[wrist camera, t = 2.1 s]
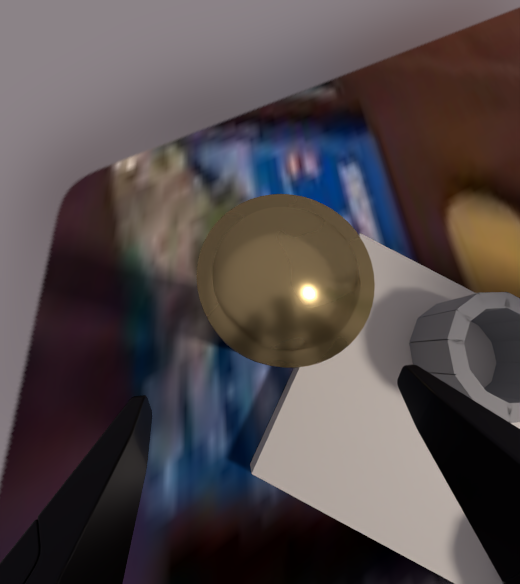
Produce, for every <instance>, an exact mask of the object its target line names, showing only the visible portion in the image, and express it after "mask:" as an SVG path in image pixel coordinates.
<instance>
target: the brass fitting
mask: <svg viewBox="0 0 520 584" xmlns="http://www.w3.org/2000/svg"><path fill="white" fill-rule="evenodd" d="M197 288H198V293H199V298H200V301H201V304H202V307H203V310H204V312H205V314H206V316H207V318H208V320H209V322H210V323H211V325H212V327H213V328H214V330H215V331H216V332H217V334H218V335H219V337H220V338H221V339H222V340H223V341H224V342H225V343H226V344H227V345H228V346H229V347H231V348H232V349H233V350H234V351H236V352H237V353H239V354H241V355H242V356H244V357H246V358H248V359H250V360H253V361H255V362H259V363H262V364H266V365H270V366H277V367H285V368H297V367H305V366H310V365H314V364H317V363H321V362H323V361H325V360H328V359H330V358H332V357H333V356H335V355H337V354H338V353H340V352H341V351H343V350H344V349H345V348H346V347H347V346H349V345H350V344H351V343H352V342H353V340H354V339H355V338H356V337H357V336H358V335H359V333H360V332H361V330H362V329H363V327H364V325H365V323H366V321H367V319H368V317H369V314H370V311H371V308H372V305H373V299H374V290H375V281H374V271H373V267H372V262H371V259H370V256H369V254H368V251H367V249H366V247H365V245H364V243H363V241H362V240H361V238H360V237H359V235H358V233H357V232H356V231H355V230H354V228H353V227H352V226H351V225H350V224H349V223H348V222H347V221H346V220H345V219H344V218H343V217H342V216H340V215H339V214H338V213H336V212H335V211H334V210H332V209H331V208H329V207H327V206H325V205H324V204H321V203H319V202H317V201H315V200H312V199H309V198H305V197H301V196H296V195H288V194H273V195H266V196H260V197H257V198H254V199H250V200H248V201H246V202H244V203H241V204H239V205H238V206H236V207H234V208H233V209H231V210H230V211H229V212H227V213H226V214H225V215H224V216H223V217H222V218H221V219H220V220H219V221H218V222H217V223H216V224H215V225H214V227H213V228H212V229H211V231H210V232H209V234H208V236H207V238H206V239H205V241H204V243H203V246H202V249H201V251H200V255H199V260H198V264H197Z"/></svg>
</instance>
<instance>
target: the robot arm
mask: <svg viewBox="0 0 520 584" xmlns="http://www.w3.org/2000/svg"><path fill="white" fill-rule="evenodd" d="M397 385H398V388H399V390H400V393H401V395H402V397H403V399H404V402H405V404H406V406H407V408H408V411H409V413H410V415H411V417H412V420H413V422H414V424H415V426H416V428H417V430H418V432H419V434H420V435H421V437H422V439H423V441H424V443H425V444H426V446H427V448H428V450H429V452H430V453H431V455H432V457H433V459H434V460H435V462H436V464H437V466H438V468H439V469H440V471H441V473H442V475H443V477H444V478H445V480H446V482H447V484H448V486H449V487H450V489H451V491H452V493H453V494H454V496H455V498H456V500H457V502H458V503H459V505H460V507H461V509H462V511H463V512H464V514H465V516H466V518H467V519H468V521H469V523H470V525H471V527H472V528H473V530H474V532H475V534H476V536H477V537H478V539H479V541H480V543H481V544H482V546H483V548H484V550H485V552H486V553H487V555H488V557H489V559H490V561H491V562H492V564H493V566H494V568H495V570H496V571H497V573H498V575H499V577H500V578H501V580H502V581H503V584H520V429H519V428H517V427H516V426H514V425H513V424H511V423H509V422H508V421H506V420H505V419H503V418H501V417H500V416H498V415H497V414H495V413H493V412H492V411H490V410H488V409H487V408H485V407H484V406H482V405H480V404H479V403H477V402H476V401H474V400H472V399H471V398H469V397H467V396H466V395H464V394H463V393H461V392H459V391H458V390H456V389H455V388H453V387H451V386H450V385H448V384H447V383H445V382H443V381H442V380H440V379H438V378H437V377H435V376H434V375H432V374H430V373H429V372H427V371H426V370H424V369H422V368H421V367H419V366H417V365H415V364H411V365H404V366H403V367H402V369H401V372H400V374H399V377H398V379H397ZM151 423H152V410H151V407H150V404H149V401H148V399H147V397H146V396H145V395H143V396H135V397H132V398H131V399H130V400H129V402H128V403H127V404H126V406H125V407H124V408H123V409H122V411H121V412H120V413H119V414H118V416H117V417H116V418H115V419H114V421H113V422H112V423H111V425H110V426H109V427H108V428H107V430H106V431H105V432H104V433H103V435H102V436H101V437H100V438H99V440H98V441H97V442H96V444H95V445H94V446H93V447H92V449H91V450H90V451H89V452H88V454H87V455H86V456H85V457H84V459H83V460H82V461H81V463H80V464H79V465H78V466H77V468H76V469H75V470H74V471H73V473H72V474H71V475H70V476H69V478H68V479H67V480H66V482H65V483H64V484H63V485H62V487H61V488H60V489H59V490H58V492H57V493H56V494H55V495H54V497H53V498H52V499H51V501H50V502H49V503H48V504H47V506H46V507H45V508H44V509H43V511H42V512H41V513H40V514H39V516H38V520H35V521H34V522H33V523H32V524H31V526H30V527H29V528H28V529H27V531H26V532H25V533H24V535H23V536H22V537H21V538H20V540H19V541H18V542H17V543H16V544H15V546H14V547H13V548H12V549H11V551H10V552H9V553H8V554H7V555H6V557H5V558H4V559H3V560H2V562H1V563H0V584H122V583H123V578H124V573H125V568H126V564H127V559H128V554H129V550H130V545H131V540H132V535H133V531H134V526H135V521H136V516H137V512H138V507H139V502H140V498H141V493H142V488H143V483H144V479H145V474H146V468H147V461H148V452H149V442H150V432H151Z"/></svg>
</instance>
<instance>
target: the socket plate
mask: <svg viewBox="0 0 520 584" xmlns="http://www.w3.org/2000/svg"><path fill="white" fill-rule="evenodd" d="M359 237H360V238H361V240H362V241H363V243H364V245H365V247H366V249H367V251H368V254H369V256H370V259H371V262H372V267H373V271H374V281H375V290H374V299H373V305H372V308H371V311H370V314H369V317H368V319H367V321H366V323H365V325H364V327H363V329H362V330H361V332H360V333H359V335H358V336H357V337H356V338H355V339H354V340H353V342H352V343H351V344H350V345H349V346H347V347H346V348H345V349H344V350H343V351H341V352H340V353H338V354H337V355H335V356H333V357H332V358H330V359H328V360H325V361H323V362H321V363H317V364H314V365H310V366H305V367H297V368H294V369H293V371H292V373H291V376H290V378H289V380H288V382H287V384H286V387H285V389H284V391H283V393H282V395H281V397H280V400H279V402H278V404H277V406H276V408H275V411H274V413H273V415H272V417H271V419H270V422H269V424H268V426H267V428H266V430H265V432H264V435H263V437H262V439H261V441H260V443H259V446H258V448H257V450H256V452H255V454H254V457H253V459H252V461H251V463H250V467H251V473H252V474H253V475H255V476H257V477H258V478H260V479H262V480H264V481H266V482H268V483H270V484H271V485H273V486H275V487H277V488H279V489H281V490H282V491H284V492H286V493H288V494H290V495H292V496H294V497H295V498H297V499H299V500H301V501H303V502H305V503H307V504H308V505H310V506H312V507H314V508H316V509H318V510H320V511H321V512H323V513H325V514H327V515H329V516H331V517H332V518H334V519H336V520H338V521H340V522H342V523H344V524H345V525H347V526H349V527H351V528H353V529H355V530H357V531H358V532H360V533H362V534H364V535H366V536H368V537H370V538H371V539H373V540H375V541H377V542H379V543H381V544H382V545H384V546H386V547H388V548H390V549H392V550H394V551H395V552H397V553H399V554H401V555H403V556H405V557H407V558H408V559H410V560H412V561H414V562H416V563H418V564H419V565H421V566H423V567H425V568H427V569H429V570H431V571H432V572H434V573H436V574H438V575H440V576H442V577H444V578H445V579H447V580H449V581H451V582H453V583H455V584H503V581H502V580H501V578H500V577H499V575H498V573H497V571H496V570H495V568H494V566H493V564H492V562H491V561H490V559H489V557H488V555H487V553H486V552H485V550H484V548H483V546H482V544H481V543H480V541H479V539H478V537H477V536H476V534H475V532H474V530H473V528H472V527H471V525H470V523H469V521H468V519H467V518H466V516H465V514H464V512H463V511H462V509H461V507H460V505H459V503H458V502H457V500H456V498H455V496H454V494H453V493H452V491H451V489H450V487H449V486H448V484H447V482H446V480H445V478H444V477H443V475H442V473H441V471H440V469H439V468H438V466H437V464H436V462H435V460H434V459H433V457H432V455H431V453H430V452H429V450H428V448H427V446H426V444H425V443H424V441H423V439H422V437H421V435H420V434H419V432H418V430H417V428H416V426H415V424H414V422H413V420H412V417H411V415H410V413H409V411H408V408H407V406H406V404H405V402H404V399H403V397H402V395H401V393H400V390H399V388H398V385H397V379H398V377H399V374H400V372H401V369H402V367H403V366H404V365H411V364H415V365H417V366H419V367H421V368H422V369H424V370H426V371H427V372H429V373H430V374H432V375H434V376H435V377H437V378H438V379H440V380H442V381H443V382H445V383H447V384H448V385H450V386H451V387H453V388H455V389H456V390H458V391H459V392H461V393H463V394H464V395H466V396H467V397H469V398H471V399H472V400H474V401H476V402H477V403H479V404H480V405H482V406H484V407H485V408H487V409H488V410H490V411H492V412H493V413H495V414H497V415H498V416H500V417H501V418H503V419H505V420H506V421H508V422H509V423H511V424H513V425H514V426H516V427H517V428H519V429H520V298H518V297H516V296H514V295H512V294H510V293H508V292H488V293H474V292H473V291H471V290H469V289H467V288H465V287H463V286H461V285H459V284H457V283H455V282H453V281H451V280H449V279H447V278H445V277H444V276H442V275H440V274H438V273H436V272H434V271H432V270H430V269H428V268H426V267H424V266H422V265H420V264H418V263H416V262H415V261H413V260H411V259H409V258H407V257H405V256H403V255H401V254H399V253H397V252H395V251H393V250H391V249H389V248H387V247H386V246H384V245H382V244H380V243H378V242H376V241H374V240H372V239H370V238H368V237H366V236H364V235H362V234H359Z"/></svg>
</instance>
